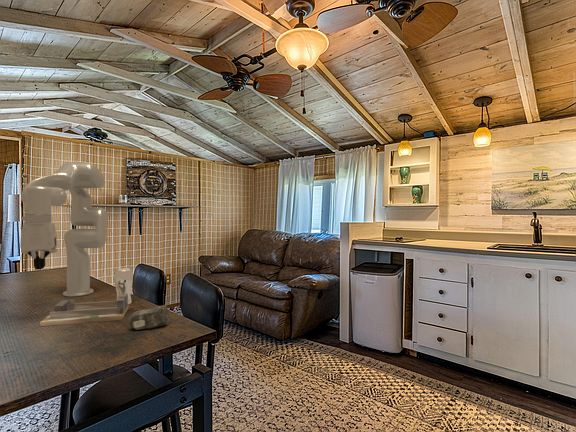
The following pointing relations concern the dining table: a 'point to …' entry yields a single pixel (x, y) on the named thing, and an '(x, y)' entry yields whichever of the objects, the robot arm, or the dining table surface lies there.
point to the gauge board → (89, 312)
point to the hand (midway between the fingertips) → (39, 268)
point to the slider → (64, 306)
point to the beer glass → (124, 282)
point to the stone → (150, 318)
